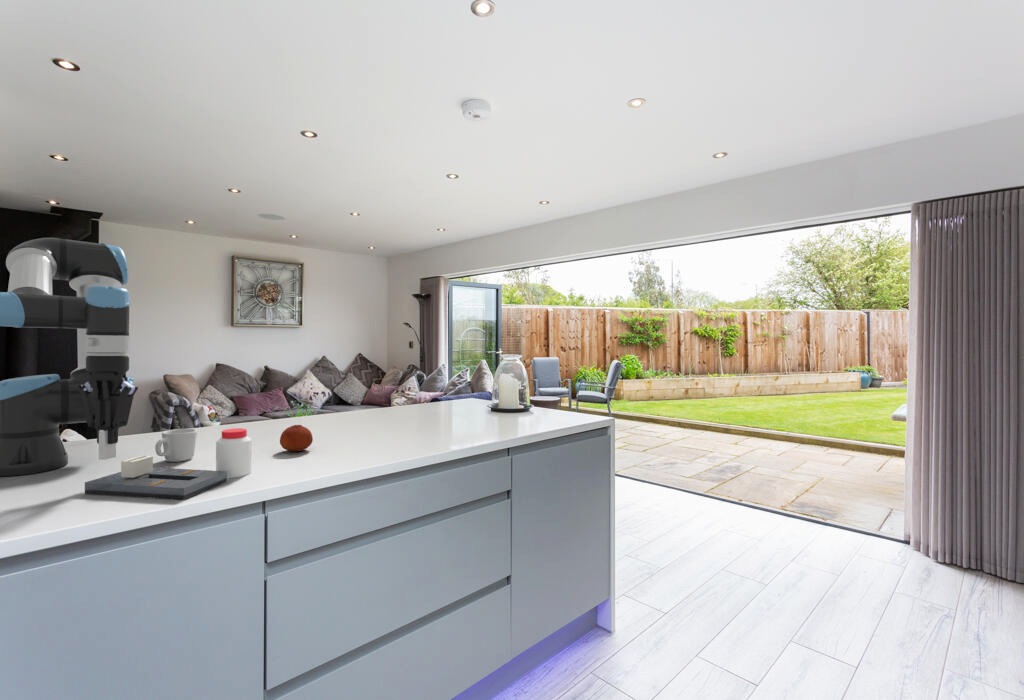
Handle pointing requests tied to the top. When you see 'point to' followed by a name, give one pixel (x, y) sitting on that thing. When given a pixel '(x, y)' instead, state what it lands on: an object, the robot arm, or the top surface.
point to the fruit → (296, 438)
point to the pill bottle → (234, 452)
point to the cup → (177, 444)
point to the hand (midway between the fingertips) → (107, 457)
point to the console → (158, 484)
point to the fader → (137, 467)
